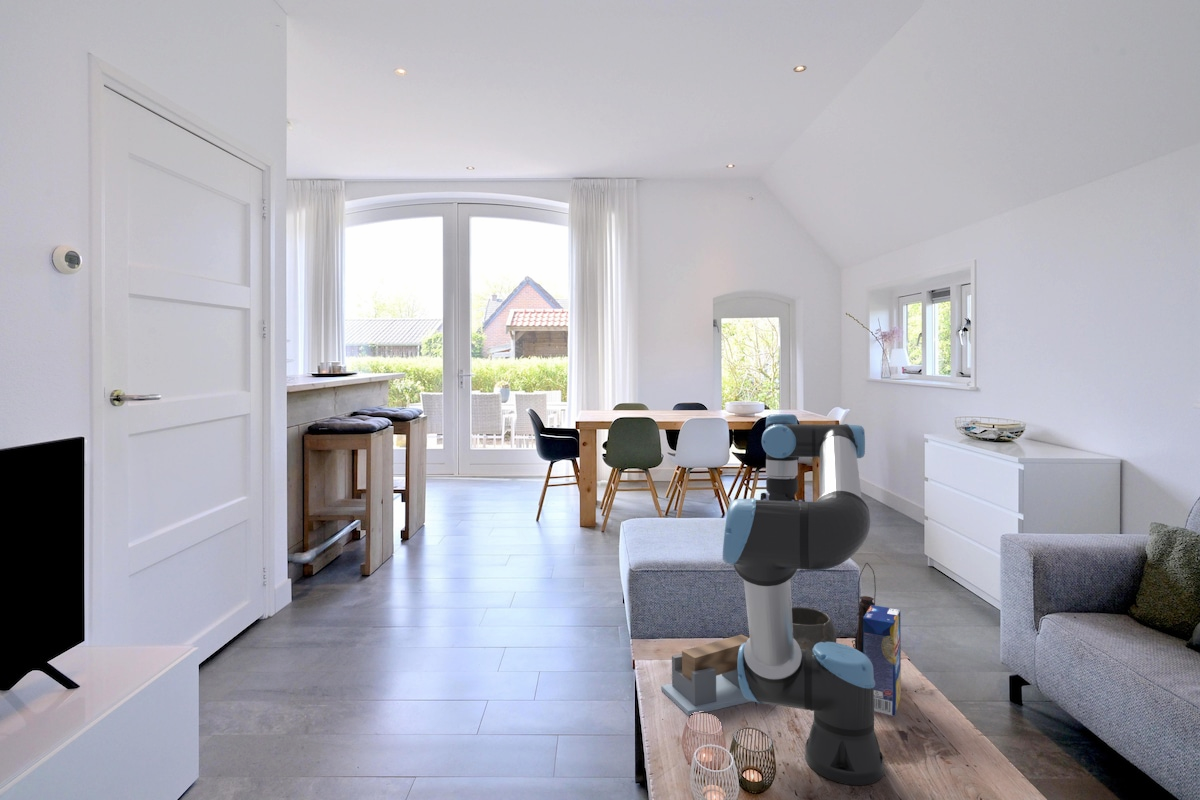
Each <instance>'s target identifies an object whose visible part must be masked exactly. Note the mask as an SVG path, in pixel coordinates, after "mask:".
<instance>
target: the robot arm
mask: <svg viewBox="0 0 1200 800" xmlns="http://www.w3.org/2000/svg"><path fill="white" fill-rule="evenodd" d="M761 435H762V436H761V446H762V448H763V451H764V452H765V453H766V456H765V474H766V475H767V477H766V483H765V485H766V486H765V487H766V489H765V491H766V492H761V493H760V499H756V498H755V497H750V498H736V499H733V500H732V501H730V503H729V505H728V506H727V507H728V508H727V513H726V519H725V527H724V534H723V535H724V536H723V542H722V543H723V545H722V560H723V562H724V563H725V564H728V565H730V566H733V568H734V571H735V572H736V575H738V577H739V578H740V579H741V580H743V588H744V596H745V597H744V598H745V604H746V605H745V607H746V615H747V624H748V625H747V626H748V633H749V637H748V638H749V639H748V640H747V642H746V643H743V644H741V646H740V648H739V652H738V663H737V668H738V676H739V677H738V680H739V686H740V689H741V692H742V694H743V696H744V697H745V698H746V699H748V700H750V701H752V702H754V703H755V702H756V703H757V704H762V705H770V706H772V705H773V706H779V707H786V708H793V709H799V710H806V711H812V712H813V722H812V724H811V727H810V728H811V729H810V732H809V736H808V738H807V740H806V742H805V749H804V750H805V751H804V752H805V754H804V755H805V756H804V757H805V761H806V763H807V764H808V766H809V767H810V768H811V769H812V770H813V771H814V772H815V773H817V774H818V775H820V776H821V777H824V778H825V779H828V780H830V781H833V782H835V783H836V782H837V783H839V784H843V785H852V786H865V785H870V784H874V783H876V782H878V781H880V780H881V779H882V777H883V776H884V774H885V763H884V762H885V760H884V756H883V753H882V751H881V748H880V744H879V741H878V737H877V735H876V732H875V711H874V687H875V681H874V673H873V665H872V663H871V661H870V659H869V658H868V657H867V656H866V655H865V654H863V653H862V652H860V651H858V650H857V649H855V648H854V647H853V646H850V645H847V644H843V643H840V642H839V643H838V642H836V643H835V642H825V643H824V642H819V643H817V644H815V645H814V647H813V650H805V649H800V646H799V645H798V643H797V641H796V640H795V639H794V638H793V623H792V607H793V605H792V604H793V603H792V583H791V580H792V579H793V578H794V577H795V575H796V574H797V572H798V571H802V570H805V571H806V570H807V571H808V570H809V571H824V570H825V571H826V570H828V569H829V570H830V569H832V568H836V567H837V566H839V565H842V564H843V563H845V562H846V561H848V560H849V559H851V557H853V556H854V555H855V554H856V553H857V552H858V551H859V550H860V549H861V547H862V546H863V544H864V543H865V542H866V539H868V535H869V532H870V528H871V516H870V509H869V506H868V504H867V503H866V501H865V500H864V499H863V498H862V490H861V481H860V472H859V464H858V462H859V461H858V459H862V458H864V457H865V454H866V453H865V452H866V436H865V429H864V427H863V426H862V425H859V424H858V425H857V424H848V423H843V424H804V423H803V424H801V423H800V424H798V418H797V416H796V415H795V414H790V413H789V414H787V413H785V414H784V413H783V414H781V413H779V414H778V413H777V414H774V413H773V414H768V415H767V416H766V418H765V430H764V431H763V433H762V434H761ZM798 458H819V477H818V478H819V480H818V482H819V483H818V485H819V486H818V487H819V488H818V490H819V491H818V498H817V500H816V501H805V499H796V494H797V493H798V491H799V479H798V477H797V476H798V473H799V471H798V470H799V469H798V468H799V467H798V463H799V462H798Z"/></svg>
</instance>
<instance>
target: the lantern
mask: <svg viewBox="0 0 1200 800" xmlns="http://www.w3.org/2000/svg"><path fill="white" fill-rule="evenodd" d="M866 566H869V568H870V569H871V570H872V573H873V579H874V580H873V581H874V584H876V575H875V571H874V569H873V568H872V566H871V565H870V563H868V562H866V563H865V564H864V566H863V568H862V570H861V571H860V573H859V574H860V575H859V578H858V582H857V605H858V606H857V607H858V608H857V609H858V612H857V614H856V616H858V618H857V620H858V621H857V622H858V623H857V630H856V633H855V638H854V640H851V643H852V648H855V649H857V650H858V651H860V652H862V653H863V617H864V616H865V614H866V612H867V611H868V609H869V607H870V606H871V605H875V606H876V595H874V596H873V597H871V596H868V595H867V596H866V595H862V596H860V595H859V594H860V580H861V577H862V576H861V575H862V573H863V571H864V569H865V567H866ZM876 591H877V590H876V586H874V594H876ZM859 596H860V597H859ZM859 599H860V600H859Z"/></svg>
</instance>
